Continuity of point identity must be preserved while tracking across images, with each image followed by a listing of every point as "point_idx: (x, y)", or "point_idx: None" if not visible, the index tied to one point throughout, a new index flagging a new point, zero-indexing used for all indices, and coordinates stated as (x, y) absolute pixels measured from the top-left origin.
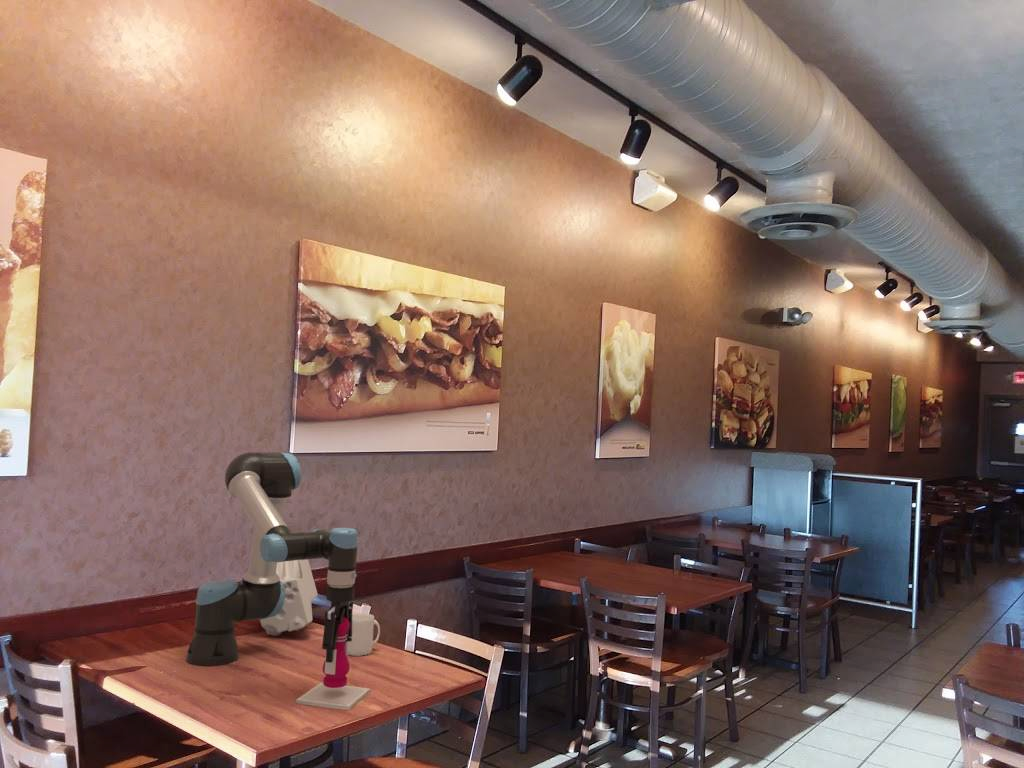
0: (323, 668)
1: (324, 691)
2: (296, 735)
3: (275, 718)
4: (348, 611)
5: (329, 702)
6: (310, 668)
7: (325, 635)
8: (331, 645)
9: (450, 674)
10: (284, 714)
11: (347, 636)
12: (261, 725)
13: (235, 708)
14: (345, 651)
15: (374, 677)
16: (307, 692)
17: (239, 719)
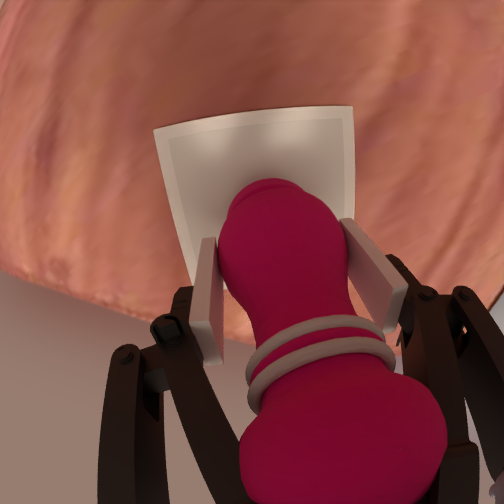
0: (232, 217)
1: (271, 165)
2: (31, 267)
3: (47, 166)
4: (499, 464)
5: (190, 235)
6: (453, 30)
7: (109, 435)
8: (146, 400)
9: None
10: (75, 164)
11: (404, 355)
12: (12, 173)
13: (51, 31)
14: (363, 295)
15: (447, 217)
16: (236, 116)
17: (9, 104)
